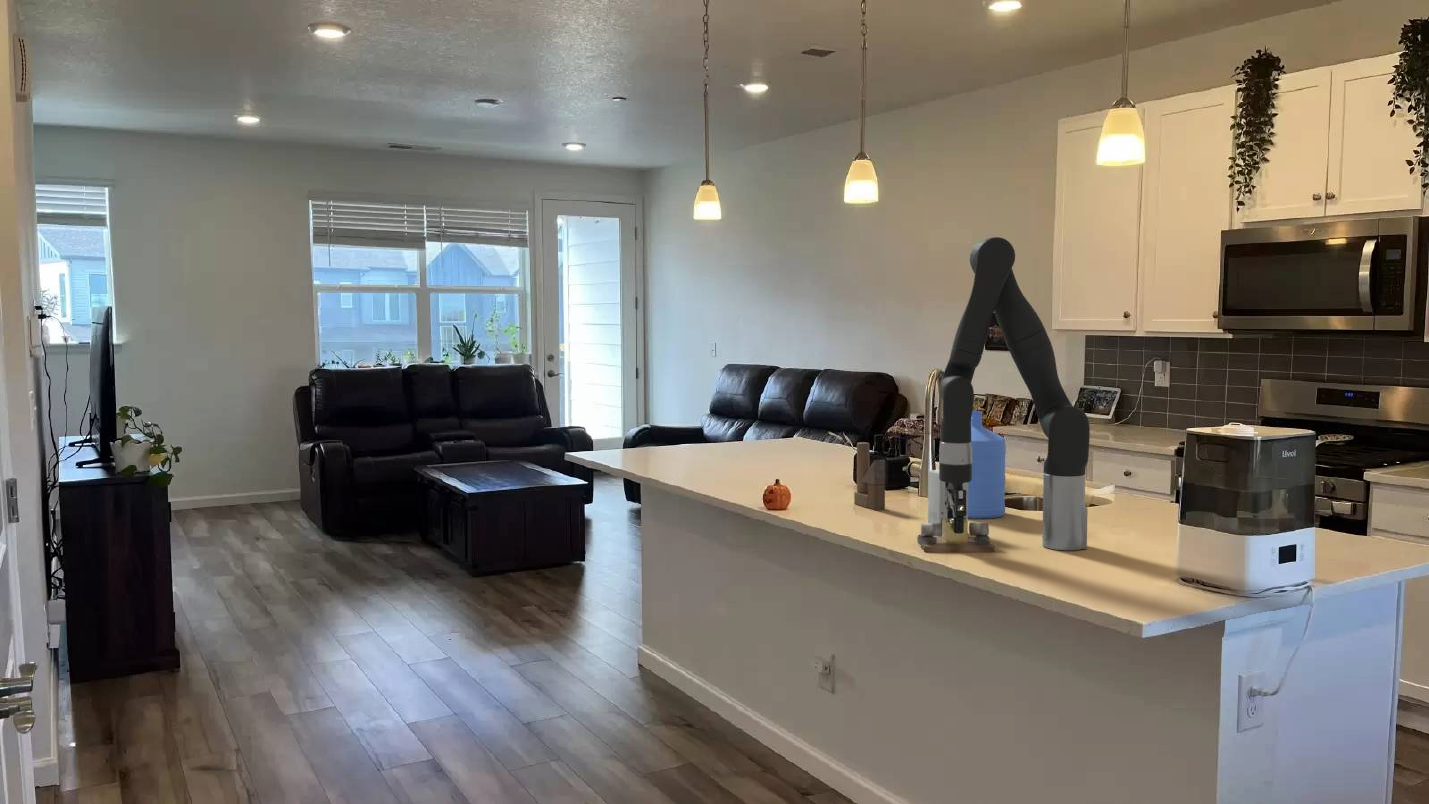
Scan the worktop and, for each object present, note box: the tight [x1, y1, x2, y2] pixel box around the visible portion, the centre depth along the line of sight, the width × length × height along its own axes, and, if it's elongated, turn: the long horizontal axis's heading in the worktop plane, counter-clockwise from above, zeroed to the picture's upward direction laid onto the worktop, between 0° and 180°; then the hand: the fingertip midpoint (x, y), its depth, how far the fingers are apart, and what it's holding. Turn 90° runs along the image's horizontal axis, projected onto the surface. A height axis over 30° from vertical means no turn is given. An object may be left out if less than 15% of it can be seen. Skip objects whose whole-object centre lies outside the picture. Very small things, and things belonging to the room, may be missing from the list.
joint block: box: [941, 518, 969, 544], centre depth 242 cm, size 5×5×5 cm
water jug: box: [968, 410, 1007, 520], centre depth 280 cm, size 16×16×28 cm
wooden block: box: [853, 441, 886, 511], centre depth 293 cm, size 4×11×18 cm, turn 24°
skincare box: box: [927, 469, 969, 524], centre depth 258 cm, size 8×7×16 cm
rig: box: [916, 522, 996, 553], centre depth 242 cm, size 16×11×6 cm, turn 87°
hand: (955, 529), depth 242 cm, fingers open, 8 cm apart
